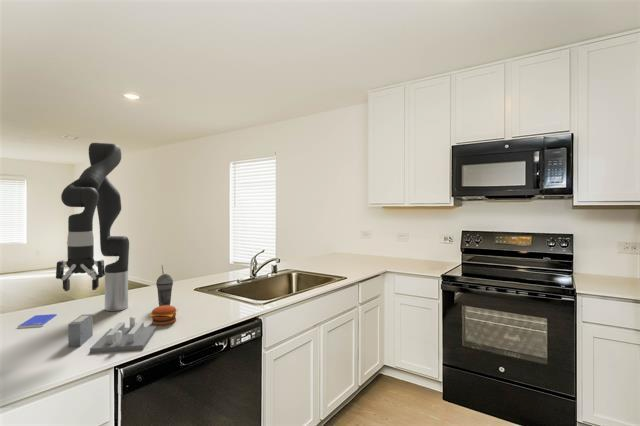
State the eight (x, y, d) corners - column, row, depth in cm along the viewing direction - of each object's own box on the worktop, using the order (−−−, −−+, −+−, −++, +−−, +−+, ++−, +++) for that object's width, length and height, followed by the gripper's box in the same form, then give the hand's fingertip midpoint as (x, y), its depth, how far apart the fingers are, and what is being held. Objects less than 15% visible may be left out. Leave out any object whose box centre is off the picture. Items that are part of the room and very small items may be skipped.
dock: (110, 332, 130) (110, 316, 129) (156, 329, 133) (156, 314, 133) (89, 353, 112) (89, 334, 112) (143, 349, 116) (143, 331, 115)
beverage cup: (172, 309, 159) (173, 266, 158) (155, 310, 156) (155, 266, 155) (173, 304, 165) (173, 263, 165) (156, 306, 163) (156, 264, 162)
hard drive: (42, 323, 134) (57, 313, 146) (17, 325, 132) (34, 315, 144) (43, 327, 134) (57, 317, 146) (17, 329, 132) (34, 318, 144)
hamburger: (156, 318, 146) (156, 303, 146) (179, 318, 147) (179, 302, 147) (147, 326, 137) (147, 309, 137) (172, 326, 138) (172, 309, 138)
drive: (81, 336, 126) (81, 314, 125) (92, 335, 127) (92, 313, 126) (68, 347, 116) (68, 324, 116) (80, 346, 117) (80, 323, 117)
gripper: (107, 242, 125) (107, 286, 126) (63, 242, 122) (63, 288, 123) (99, 245, 118) (99, 292, 119) (51, 245, 115) (51, 293, 115)
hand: (80, 290), depth 121 cm, fingers open, 8 cm apart
